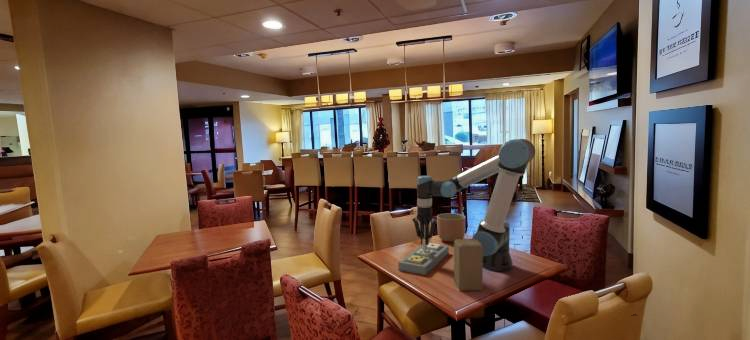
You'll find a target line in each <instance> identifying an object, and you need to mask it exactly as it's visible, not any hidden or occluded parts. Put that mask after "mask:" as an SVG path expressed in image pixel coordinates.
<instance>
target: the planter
mask: <svg viewBox="0 0 750 340" xmlns="http://www.w3.org/2000/svg"><path fill="white" fill-rule="evenodd" d="M466 218H467V217H466V215H464V214H461V213H454V212H451V213H448V212H446V213H440V214H437V216H436V220H437V223H436V225H437V235H438V237H439V239H441V241H443V242H445V243H448V244H449V243H451V244H454V241H455V240H456V239H465V234H466Z"/></svg>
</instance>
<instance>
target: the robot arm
mask: <svg viewBox="0 0 750 340" xmlns="http://www.w3.org/2000/svg"><path fill="white" fill-rule="evenodd" d="M535 156H536V148H535V145H534V144H533V143H532V142H531V141H530V140H528V139H524V138H517V139H516V138H515V139H510V140H508V141H506V142H504V143H503V144H502V145H501V146H500V148H499V150H498V154H496V155H495V156H493V157H491V158H489V159H487V160H485V161H483V162H481V163H479V164H477V165H474V166H473V167H470V168H469V169H467V170H465V171H463V172H461V173H459V174H457V175H455V176H453V177H450V178H449V179H444V180H433V178H432V175H419V176H418V177H416V179H417V181H416V191H417V192H416V194H417V195H416V198H417V200H416V206H417V207H416V210H417V211H416V213H417V214H416V217H413V218H412V221H413V223H414V227H415V231H416V237H417V238H420V244H421V245H422V251H424V252H425V251H427V245H428V244H429V243H430V241H429V239H432V238H433V236H434V231H435V228H436V225H437V219H434V217H433V206H432V205H433V197H444V198H452V197H454V196H455V194H456V193H457V192H458V193H459V192H460V191H461V190H463V189H465V188H467V187H469V186H470V187H471V186H472V185H474V184H476V183H478V182H480V181H483V180H484V179H487V178H489V177H491V176H493V175H496V174H498V175H497V177H496V180H495V184H494V188H493V191H492V193H491V197H490V200H489V203H488V207H487V210H486V212H485V217H484V218H483V219H482V220H480V221H479V223H478V227H477V228H476V231H475V233H473V235H472V237H471V239H476V240H477V241H478V242H479V243H480V244H482V246H483V269H486V270H489V271H493V272H508V271H511V270H512V269H513V267H514V265H513V264H514V263H513V259H512V256H511V253H510V235H511V234H510V233H511V232H510V230H511V227H510V222H509V221H507V220H506V218H507V216H508V213H509V209H510V206H511V203H512V200H513V198H514V195H515V192H516V188H517V186H518V185H517V184H518V182H519V180H520V177H521V176H523V175H525V173H526V169H527V167H528V164H529V163H531V162H532V161H533V160H534V157H535ZM430 223H431V225H430Z"/></svg>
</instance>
